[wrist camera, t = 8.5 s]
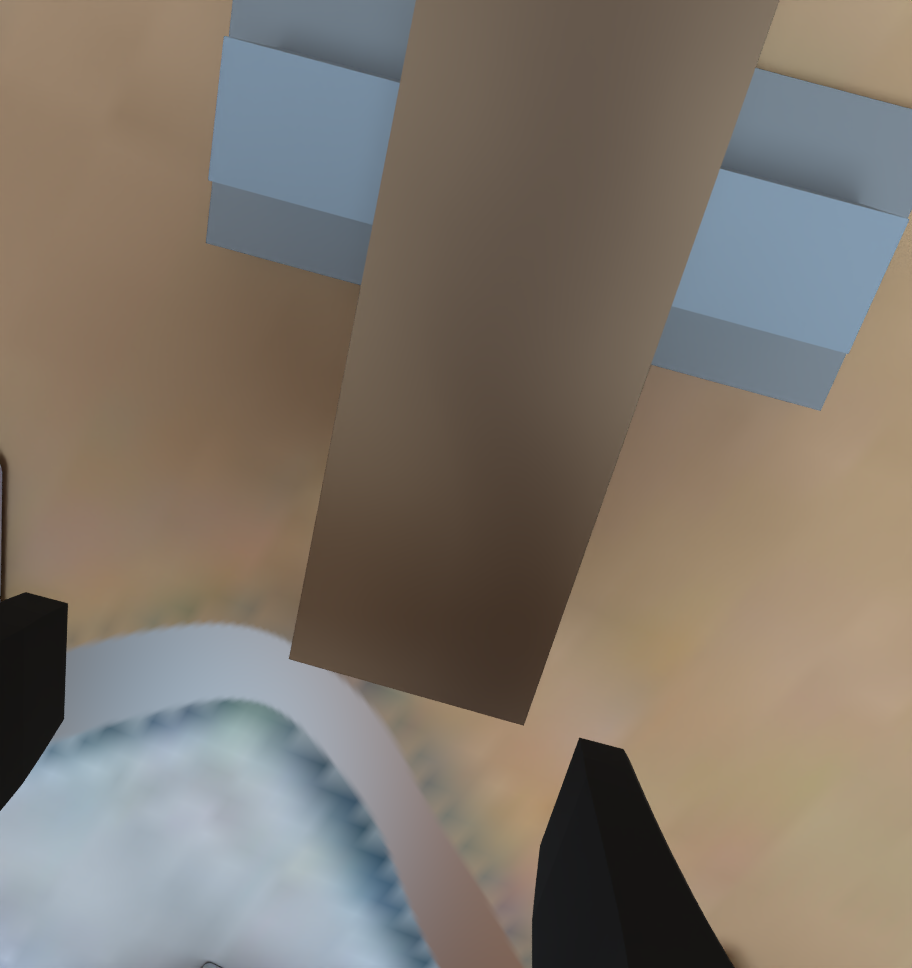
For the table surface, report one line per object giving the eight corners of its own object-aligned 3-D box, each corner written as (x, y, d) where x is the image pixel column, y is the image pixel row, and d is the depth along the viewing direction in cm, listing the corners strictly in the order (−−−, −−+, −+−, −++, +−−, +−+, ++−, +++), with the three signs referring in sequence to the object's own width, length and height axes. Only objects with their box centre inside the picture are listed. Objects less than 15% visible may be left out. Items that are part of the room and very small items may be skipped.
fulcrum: (219, 237, 20) (147, 263, 16) (255, -61, 17) (178, -102, 14) (811, 399, 19) (859, 458, 16) (935, 119, 17) (1022, 121, 13)
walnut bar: (354, 535, 18) (288, 659, 14) (533, -295, 12) (511, -499, 8) (535, 586, 18) (523, 725, 14) (804, -226, 12) (919, -397, 8)
